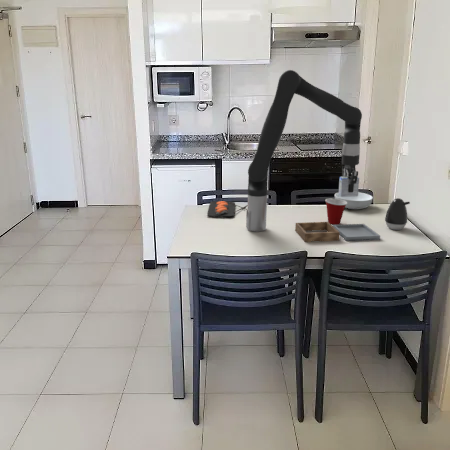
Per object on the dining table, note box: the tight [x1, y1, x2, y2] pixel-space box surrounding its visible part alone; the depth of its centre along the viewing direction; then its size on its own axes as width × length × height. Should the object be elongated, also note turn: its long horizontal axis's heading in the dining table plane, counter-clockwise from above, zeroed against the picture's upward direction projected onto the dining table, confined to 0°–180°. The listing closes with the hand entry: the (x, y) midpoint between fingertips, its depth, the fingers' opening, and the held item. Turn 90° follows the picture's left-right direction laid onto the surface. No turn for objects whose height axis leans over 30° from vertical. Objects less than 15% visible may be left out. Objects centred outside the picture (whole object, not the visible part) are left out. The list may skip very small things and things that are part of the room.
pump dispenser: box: [384, 197, 411, 231], centre depth 225 cm, size 10×10×15 cm
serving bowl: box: [334, 191, 374, 210], centre depth 263 cm, size 21×21×7 cm
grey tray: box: [332, 223, 381, 242], centre depth 219 cm, size 16×18×2 cm
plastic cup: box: [325, 197, 347, 226], centre depth 233 cm, size 11×11×12 cm
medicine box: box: [338, 176, 360, 197], centre depth 211 cm, size 8×4×9 cm, turn 91°
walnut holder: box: [294, 221, 340, 243], centre depth 216 cm, size 16×16×4 cm
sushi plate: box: [206, 200, 248, 218], centre depth 255 cm, size 29×30×4 cm
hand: (348, 190), depth 211 cm, fingers closed on medicine box, 4 cm apart
